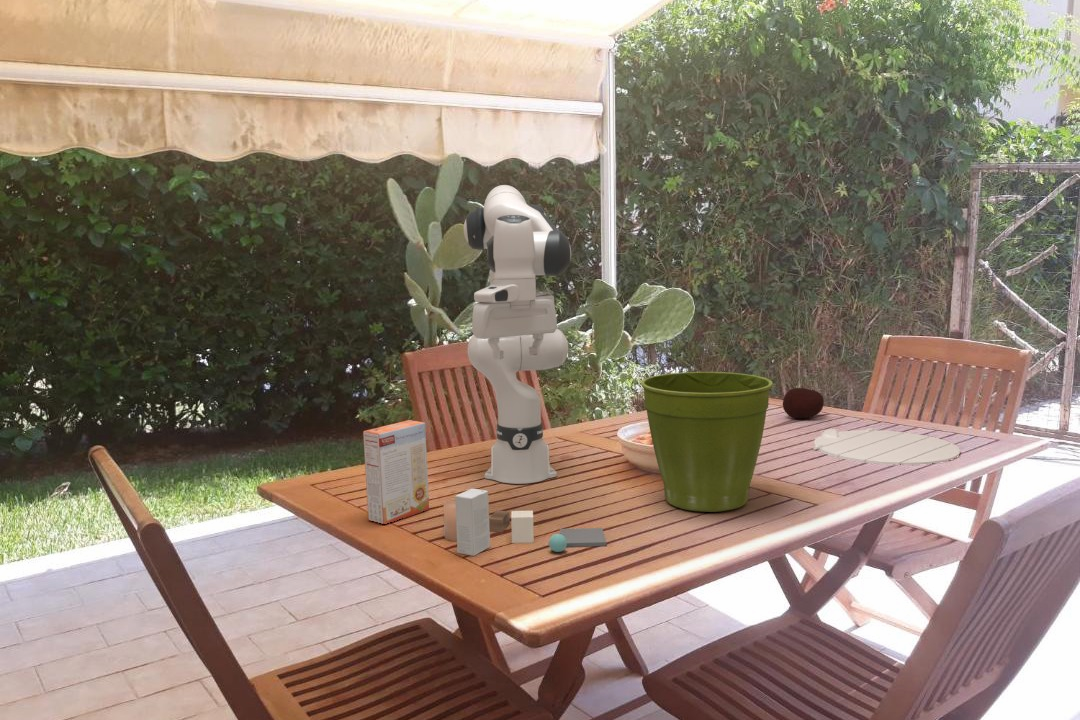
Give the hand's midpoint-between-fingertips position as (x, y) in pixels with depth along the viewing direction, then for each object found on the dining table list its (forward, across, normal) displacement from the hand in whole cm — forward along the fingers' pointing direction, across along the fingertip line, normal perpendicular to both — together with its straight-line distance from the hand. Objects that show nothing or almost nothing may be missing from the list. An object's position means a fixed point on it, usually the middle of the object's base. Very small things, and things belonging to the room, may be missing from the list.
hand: (516, 357), depth 198 cm
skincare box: (+38, +17, +6) cm, 42 cm away
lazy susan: (+36, -121, +12) cm, 127 cm away
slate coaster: (+37, -4, +16) cm, 41 cm away
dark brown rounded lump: (+35, -137, -28) cm, 144 cm away
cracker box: (+37, +17, -24) cm, 47 cm away
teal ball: (+38, +4, +18) cm, 42 cm away
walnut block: (+37, +4, -2) cm, 38 cm away
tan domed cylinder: (+37, +14, -3) cm, 40 cm away
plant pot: (+37, -43, +14) cm, 59 cm away
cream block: (+37, +5, +8) cm, 38 cm away
